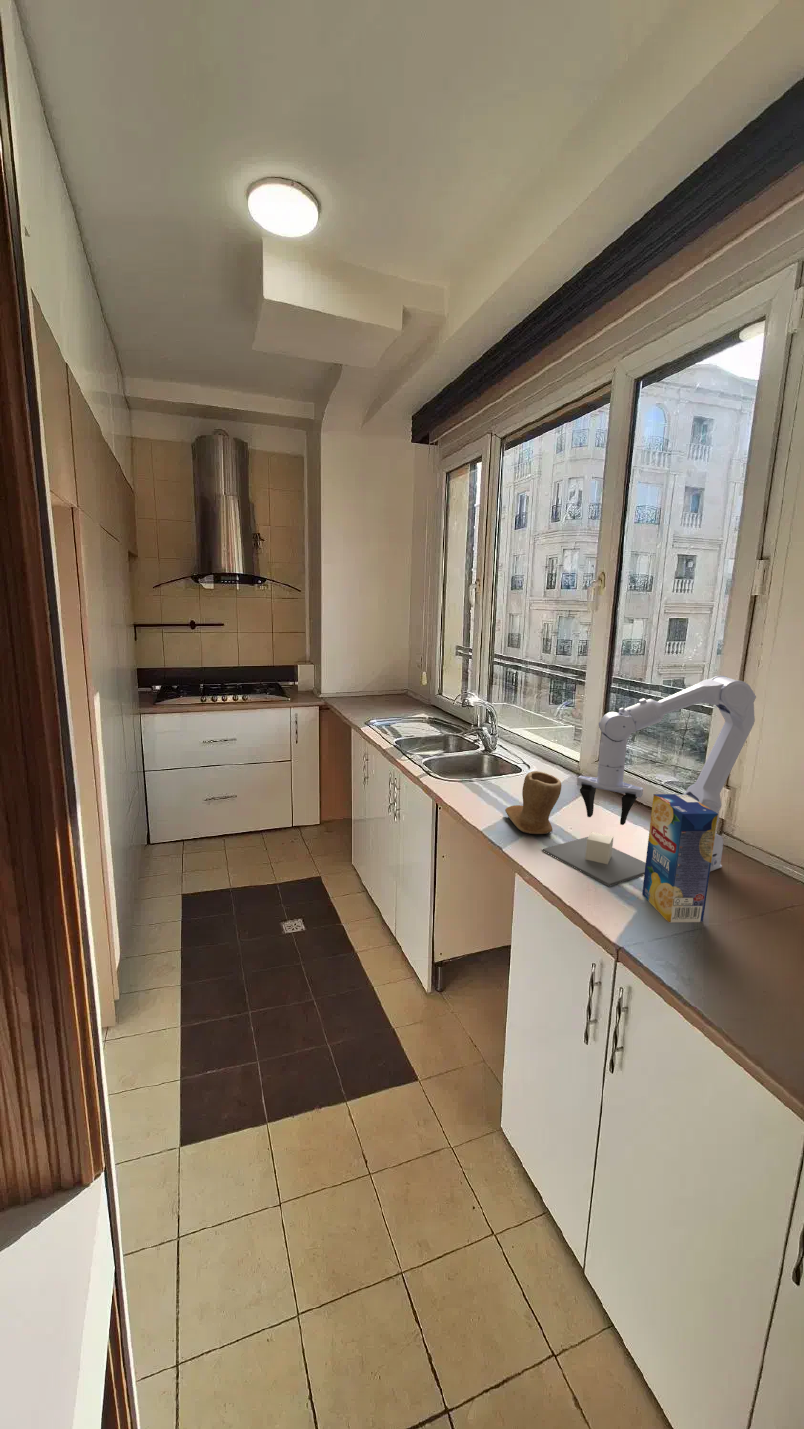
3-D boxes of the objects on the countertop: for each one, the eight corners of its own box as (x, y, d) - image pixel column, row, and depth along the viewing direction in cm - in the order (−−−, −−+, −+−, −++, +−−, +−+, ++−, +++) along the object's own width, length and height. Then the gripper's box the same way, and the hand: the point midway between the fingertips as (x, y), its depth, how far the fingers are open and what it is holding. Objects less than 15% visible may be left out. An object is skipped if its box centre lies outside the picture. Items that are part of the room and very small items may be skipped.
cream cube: (611, 856, 139) (613, 836, 138) (607, 864, 135) (609, 844, 134) (589, 851, 142) (591, 832, 141) (585, 859, 137) (587, 839, 136)
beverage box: (673, 893, 123) (686, 794, 119) (703, 922, 113) (718, 813, 108) (641, 894, 123) (653, 794, 118) (668, 922, 112) (682, 813, 108)
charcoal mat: (656, 870, 134) (657, 867, 134) (609, 886, 126) (609, 883, 126) (588, 838, 151) (588, 836, 150) (542, 851, 142) (542, 848, 142)
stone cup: (564, 837, 151) (568, 781, 148) (518, 838, 150) (522, 781, 147) (545, 815, 166) (549, 764, 163) (503, 816, 165) (507, 764, 162)
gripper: (648, 766, 135) (642, 821, 138) (586, 755, 143) (581, 808, 146) (640, 773, 129) (634, 831, 132) (576, 761, 137) (571, 816, 140)
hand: (606, 819), depth 138 cm, fingers open, 7 cm apart
